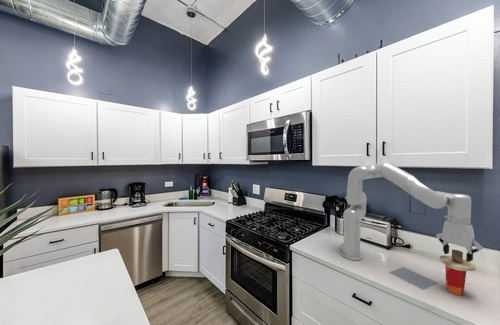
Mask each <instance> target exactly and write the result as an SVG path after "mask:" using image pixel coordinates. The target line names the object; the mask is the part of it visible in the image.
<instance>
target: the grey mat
mask: <svg viewBox="0 0 500 325" xmlns="http://www.w3.org/2000/svg"><path fill="white" fill-rule="evenodd" d="M388 273H389V274H391V275H393V276H396V277H397V278H399V279H401V280H402V281H405V282H406V283H408V284H411V285H413V286H415V287H416V288H418V289H421V290H426V289H428V288H430V287H432V286H435V285H436V284H438V283H439V282H438V281H436V280H434V279H432V278H429V277H427V276H425V275H422V274H420V273H418V272H416V271H414V270H412V269H410V268H407V267H405V266H402V267H399V268H396V269H393V270H390V271H389V272H388Z"/></svg>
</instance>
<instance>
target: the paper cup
mask: <svg viewBox="0 0 500 325" xmlns="http://www.w3.org/2000/svg"><path fill="white" fill-rule="evenodd" d="M444 265H445V266H444V267H445V287H446V291H447V292H449V293H450V294H453V295H456V296H464V291H465V285H466V279H467V277H466V276H467V271H466V270H461V269H457V268H454V267H451V266H448V265H446V264H444Z"/></svg>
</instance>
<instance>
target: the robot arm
mask: <svg viewBox="0 0 500 325" xmlns="http://www.w3.org/2000/svg"><path fill="white" fill-rule="evenodd" d="M347 176H348V177H347V178H348V179H347V185H346V186H347V187H346V198H345V200H346V202H347V204H348V205H349V206H350V207H347V208H346V209H345V210H344V211H343V214H342V215H343V217H342V218H343V244H342V243H341V244H340V245H339V248H340V249H341V251H340V254H341V256H342V257H343V258H346V259H348V260H352V261H361V260H363V258H364V257H363V255H362V254H361V224H360V222H361V221H362V220H363V219H364V218H365V217H366V213H367V202H368V201H367V200H368V199H367V198H368V197H367V195H366V193H365V191H363V181H364V180H368V179H377V178H378V179H379V178H384V179H386V180H388V181H390V182H391V183H393V184H394V185H396V186H398V187H399V188H401V190H402V189H403V190H404V191H405V192H406V193H407V194H409V195H410V196H412V197H413V198H414V199H416V200H418V201H420V202H422V203H423V204H424V205H426V206H428V207H429V208H433V209H437V210H438V209H443V208H445V207H447V214H446V215H445V214H444V215H443V218H444V219H446V220H445V221H444V224H443V227H442V232H439V233H437V234H435V237H436V238H437V239H438V241H439V242H440V243H441V245H442V251H443V254H444V255H447V254H450V245H449V244H453V245H456V246H460V247H463V248H464V249H465V250H467V252H466V256H465V258H466V259H465V260H466V261H467V262H471V261H473V260H474V253H477V252H479V251H482V250H483V249H484V246H482V245H481V244H480V243H479V242H478V241H476V240H475V232H474V227H473V225H472V224H471V220H472V197H471V196H470V195H469V194H463V193H462V194H461V193H451V192H450V193H449V192H445V191H444V192H443V191H440V190H439V191H438V190H437V191H436V190H435V191H434V190H433V189H432V188H429V187H427V186H426V185H424V184H423V183H421V182H420V181H419V180H418V179H417V177H416V176H414V175H412V174H410V173H408V171H406V170H403V169H401V168H399V167H398V165H396V164H395V163H393V162H390V161H389V162H383V163H378V164H372V165H371V164H370V165H360V166H357V167H354V168H353V169H351V171H349V174H348V175H347ZM473 247H475V248H473Z"/></svg>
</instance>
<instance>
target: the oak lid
mask: <svg viewBox="0 0 500 325" xmlns="http://www.w3.org/2000/svg"><path fill="white" fill-rule="evenodd" d="M439 261H440V262H441V263H443V264H444V265H445V264H446V265H448V266H451V267H454V268H457V269H461V270H466V272H467V271H468V272H474V271H476V269H477V266H476V265H475V264H474V263H473V262H471V261H470V262H467V261H466V259H464V252H463V251H461V250H459V249H451V255H446V254H444V255H440V256H439Z"/></svg>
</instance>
